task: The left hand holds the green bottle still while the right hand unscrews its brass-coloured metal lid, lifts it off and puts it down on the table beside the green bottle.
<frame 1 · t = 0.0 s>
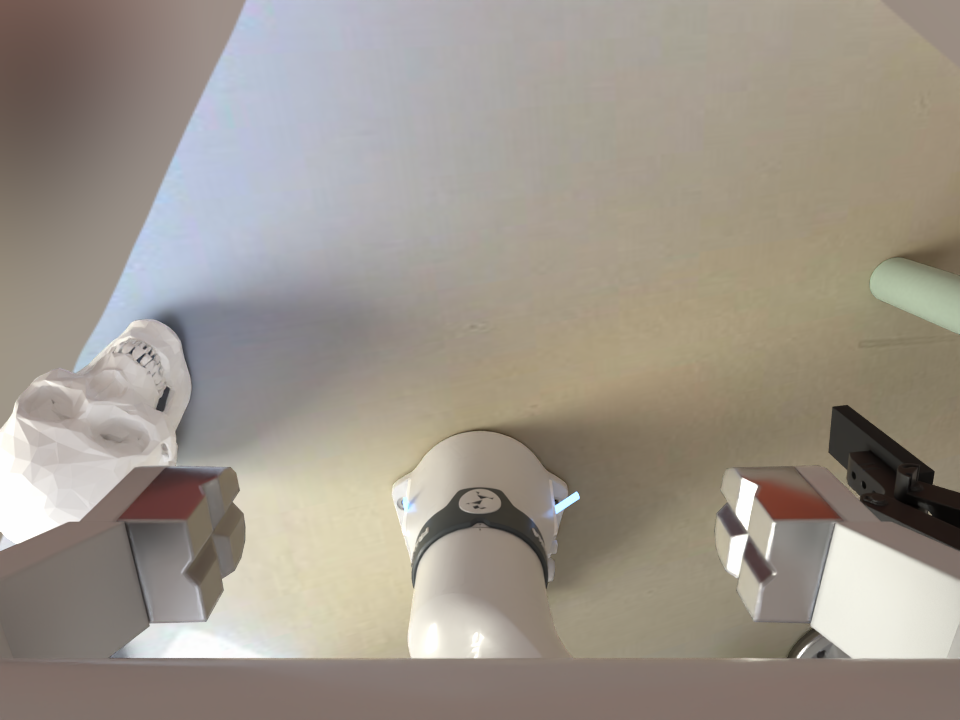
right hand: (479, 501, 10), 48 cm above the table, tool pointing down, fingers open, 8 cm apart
skull: (136, 406, 63), on the table
green bottle: (892, 279, 58), on the table
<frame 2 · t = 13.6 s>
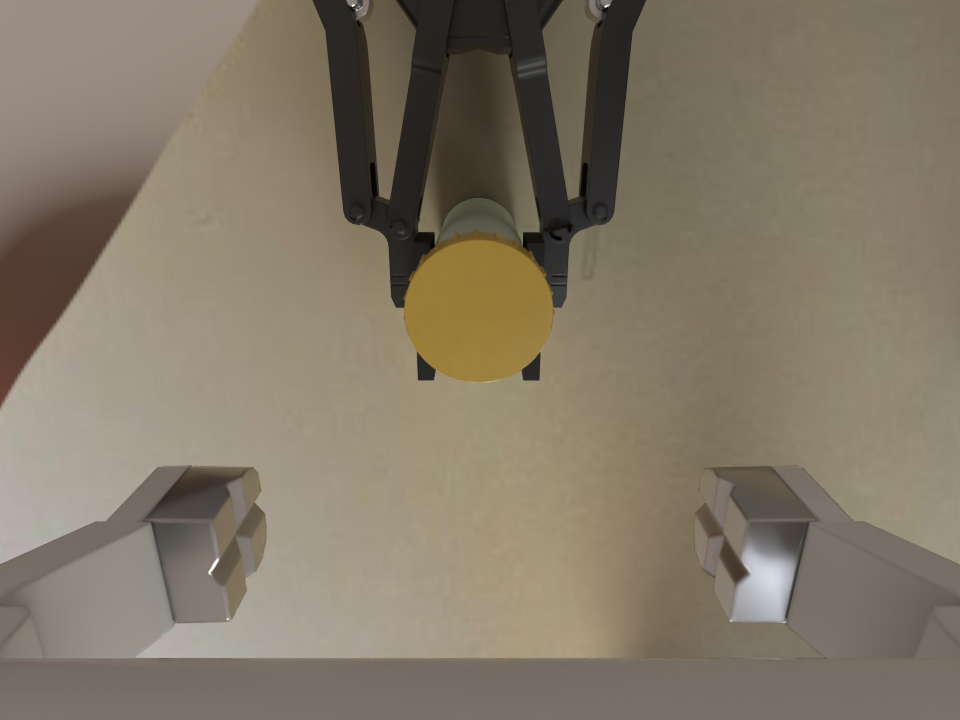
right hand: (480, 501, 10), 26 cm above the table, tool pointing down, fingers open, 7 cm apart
left hand: (478, 368, 30), fingers closed on green bottle, 4 cm apart
lid: (478, 311, 21), point 15 cm above the table, screwed on, not yet turned
green bottle: (478, 236, 35), on the table, touching left hand
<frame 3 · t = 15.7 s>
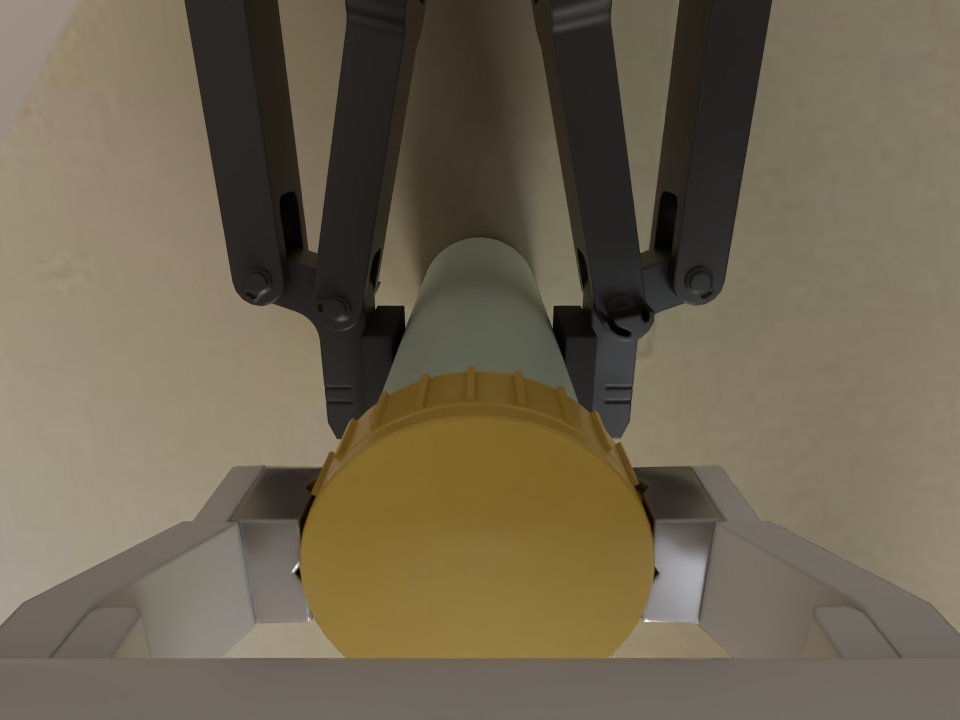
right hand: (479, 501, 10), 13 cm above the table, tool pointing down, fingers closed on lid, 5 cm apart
left hand: (479, 525, 18), fingers closed on green bottle, 4 cm apart
lid: (477, 559, 9), point 15 cm above the table, screwed on, not yet turned, touching right hand
green bottle: (479, 294, 23), on the table, touching left hand
when the right hand's fingers open (14 cm above the table, at t = 16.9 s): lid stays where it is, point 15 cm above the table.
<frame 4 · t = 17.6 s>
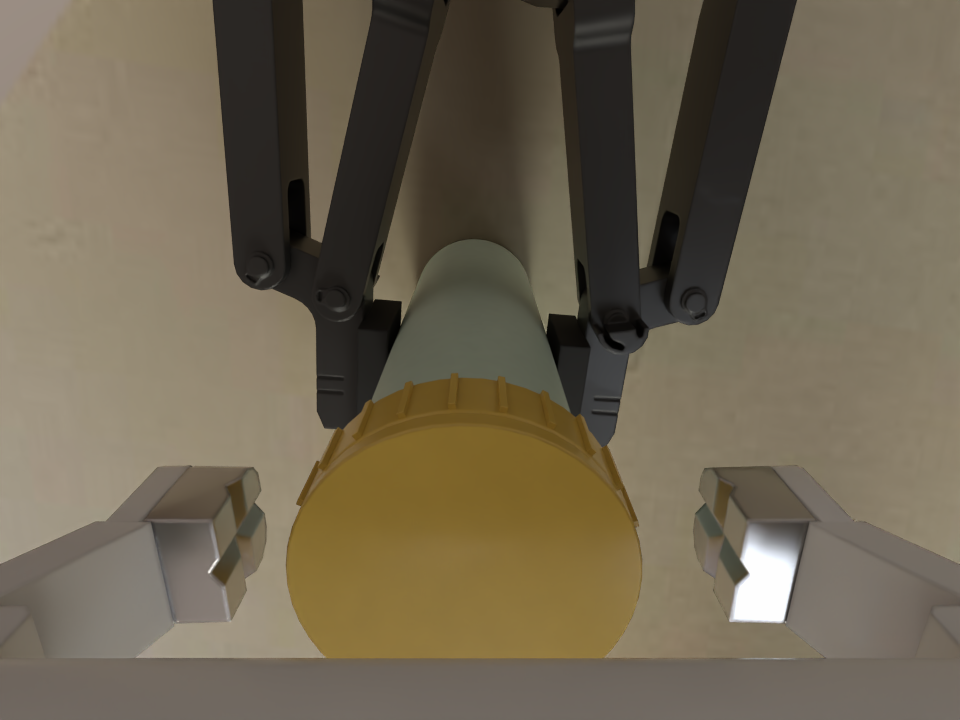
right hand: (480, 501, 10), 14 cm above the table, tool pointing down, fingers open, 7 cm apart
left hand: (457, 525, 19), fingers closed on green bottle, 4 cm apart
lid: (464, 566, 9), point 15 cm above the table, turned 69° so far, risen 0.2 cm, still on its thread
green bottle: (474, 295, 23), on the table, touching left hand
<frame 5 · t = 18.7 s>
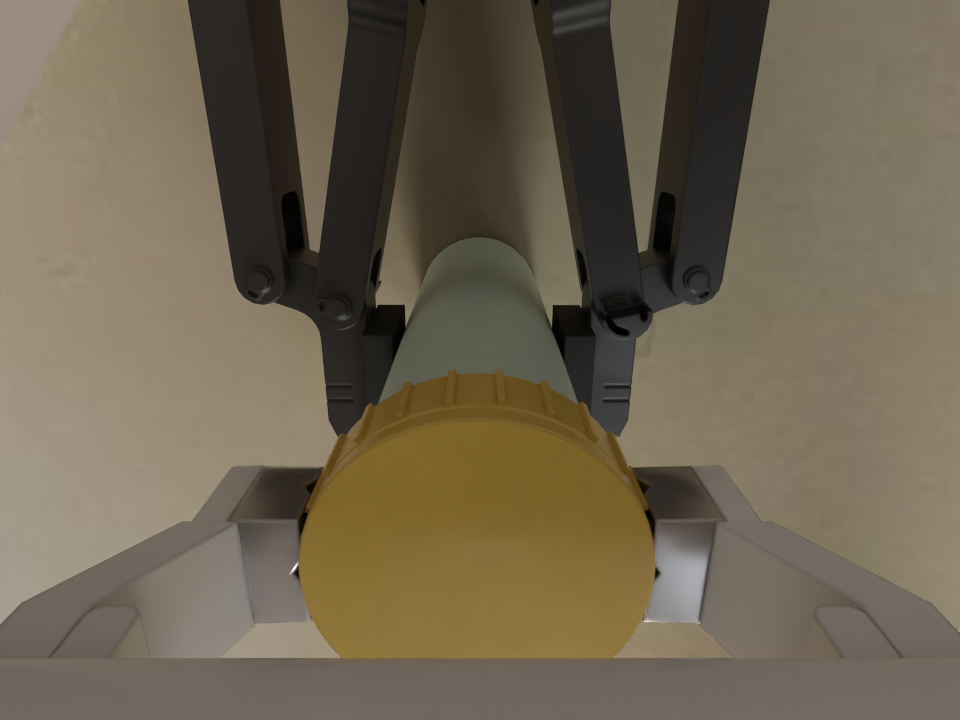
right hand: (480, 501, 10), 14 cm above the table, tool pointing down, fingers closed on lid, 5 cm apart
left hand: (478, 523, 19), fingers closed on green bottle, 4 cm apart
lid: (477, 562, 9), point 15 cm above the table, turned 69° so far, risen 0.2 cm, still on its thread, touching right hand
green bottle: (479, 293, 23), on the table, touching left hand
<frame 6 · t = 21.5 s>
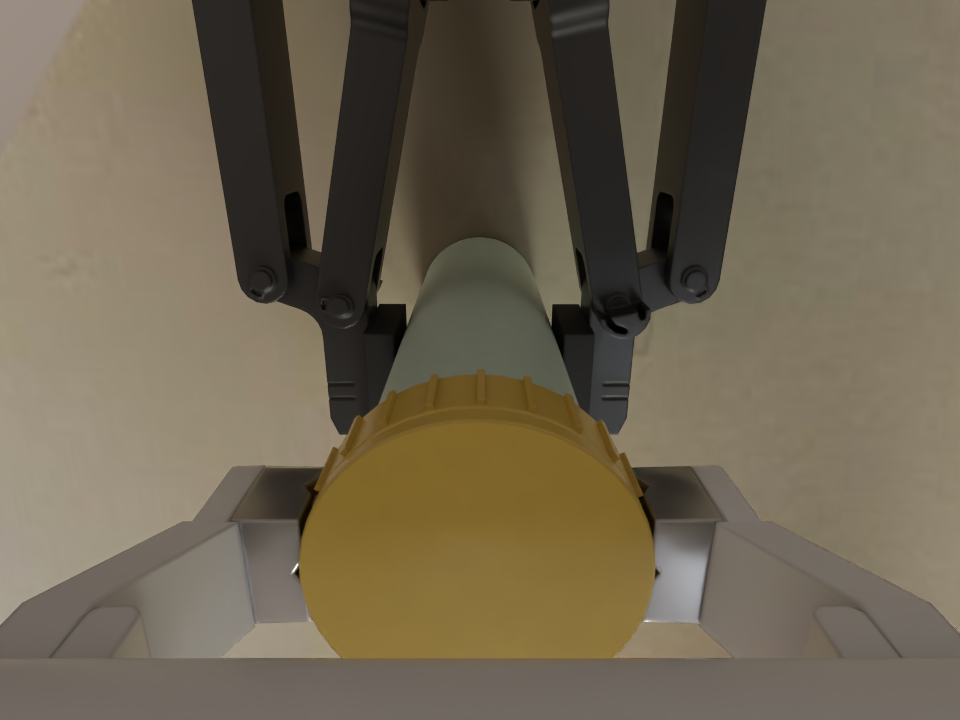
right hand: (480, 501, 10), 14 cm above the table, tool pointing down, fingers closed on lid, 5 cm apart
left hand: (478, 520, 19), fingers closed on green bottle, 4 cm apart
lid: (477, 563, 9), point 15 cm above the table, turned 138° so far, risen 0.4 cm, still on its thread, touching right hand
green bottle: (479, 293, 23), on the table, touching left hand
when the right hand's fingers open (2 cm above the table, at t = 27.3 s): lid drops 2 cm, point 1 cm above the table.
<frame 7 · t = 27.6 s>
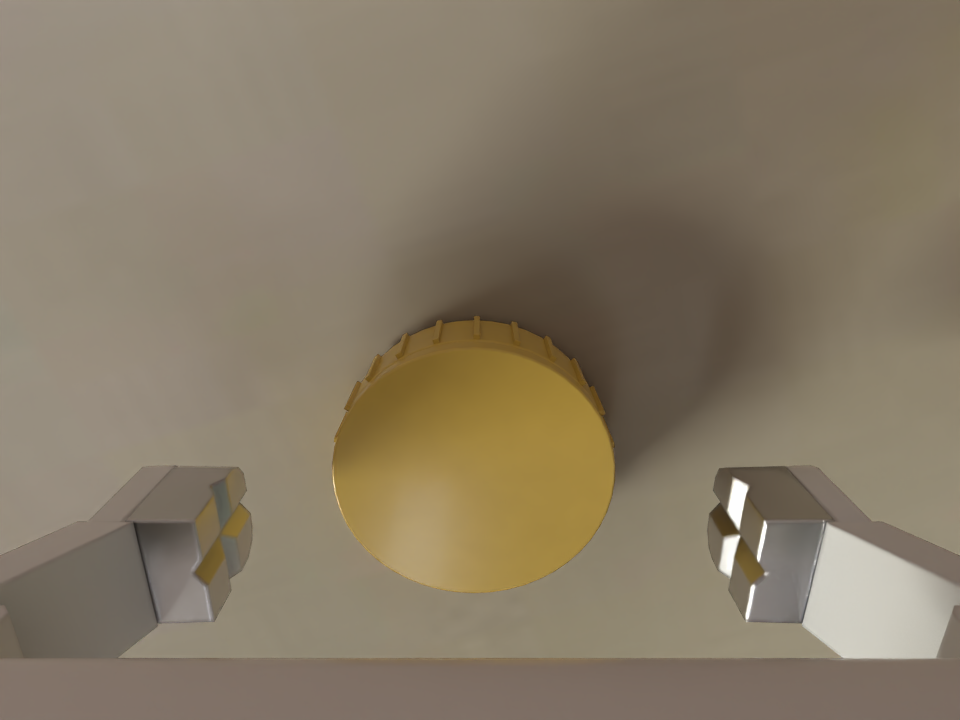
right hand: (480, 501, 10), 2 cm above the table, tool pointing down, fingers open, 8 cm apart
lid: (473, 470, 11), point 1 cm above the table, off its thread
when the left hand's fingers open (7 cm above the table, at t = 28.2 s): green bottle stays where it is, on the table.
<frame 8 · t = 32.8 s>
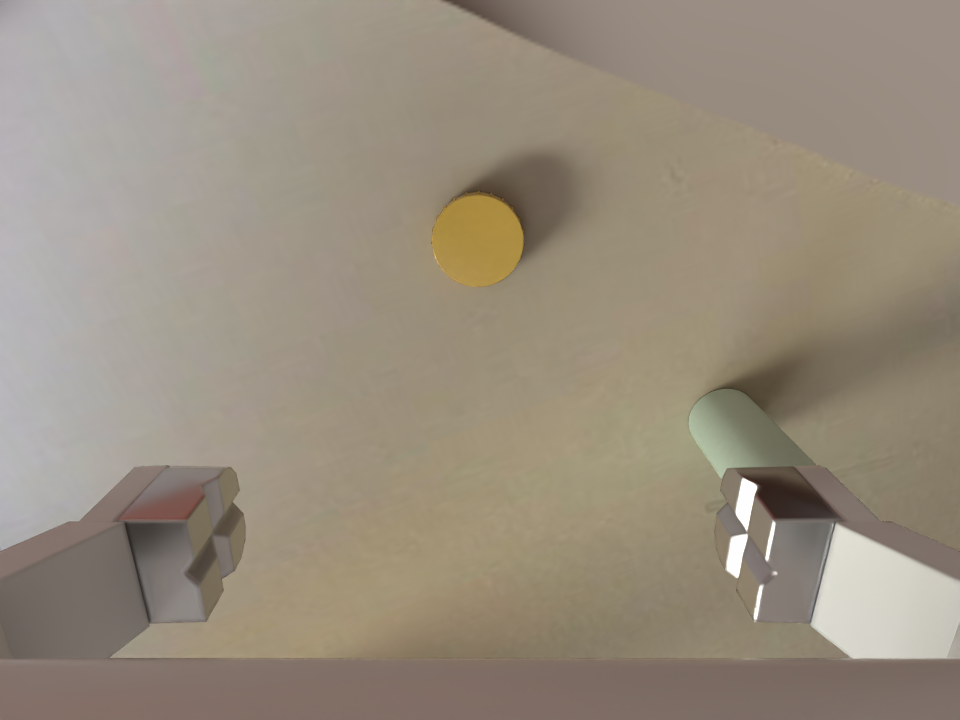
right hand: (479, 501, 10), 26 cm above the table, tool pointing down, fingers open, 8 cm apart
lid: (477, 241, 34), point 1 cm above the table, off its thread
green bottle: (722, 419, 39), on the table
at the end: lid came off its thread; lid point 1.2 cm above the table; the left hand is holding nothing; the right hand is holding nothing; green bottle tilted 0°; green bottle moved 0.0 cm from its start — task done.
